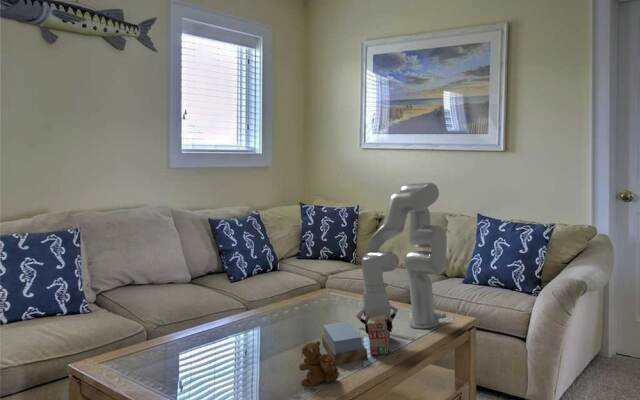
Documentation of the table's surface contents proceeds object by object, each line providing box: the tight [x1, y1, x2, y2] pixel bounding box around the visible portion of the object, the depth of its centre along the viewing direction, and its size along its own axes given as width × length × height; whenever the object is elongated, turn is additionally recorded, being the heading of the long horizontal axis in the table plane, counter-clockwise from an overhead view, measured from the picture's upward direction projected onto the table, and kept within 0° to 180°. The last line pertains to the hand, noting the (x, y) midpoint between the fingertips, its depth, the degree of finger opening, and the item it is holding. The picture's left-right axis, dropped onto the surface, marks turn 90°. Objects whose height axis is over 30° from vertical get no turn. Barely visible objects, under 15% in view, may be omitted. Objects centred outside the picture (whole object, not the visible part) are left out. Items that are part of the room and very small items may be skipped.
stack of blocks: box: [367, 315, 391, 356], centre depth 220 cm, size 21×6×12 cm, turn 170°
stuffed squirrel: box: [298, 341, 340, 386], centre depth 191 cm, size 10×14×13 cm
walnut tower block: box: [321, 334, 368, 366], centre depth 218 cm, size 12×25×4 cm, turn 10°
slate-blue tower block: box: [322, 320, 363, 353], centre depth 218 cm, size 10×23×4 cm, turn 10°
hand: (379, 332), depth 220 cm, fingers closed on stack of blocks, 7 cm apart
